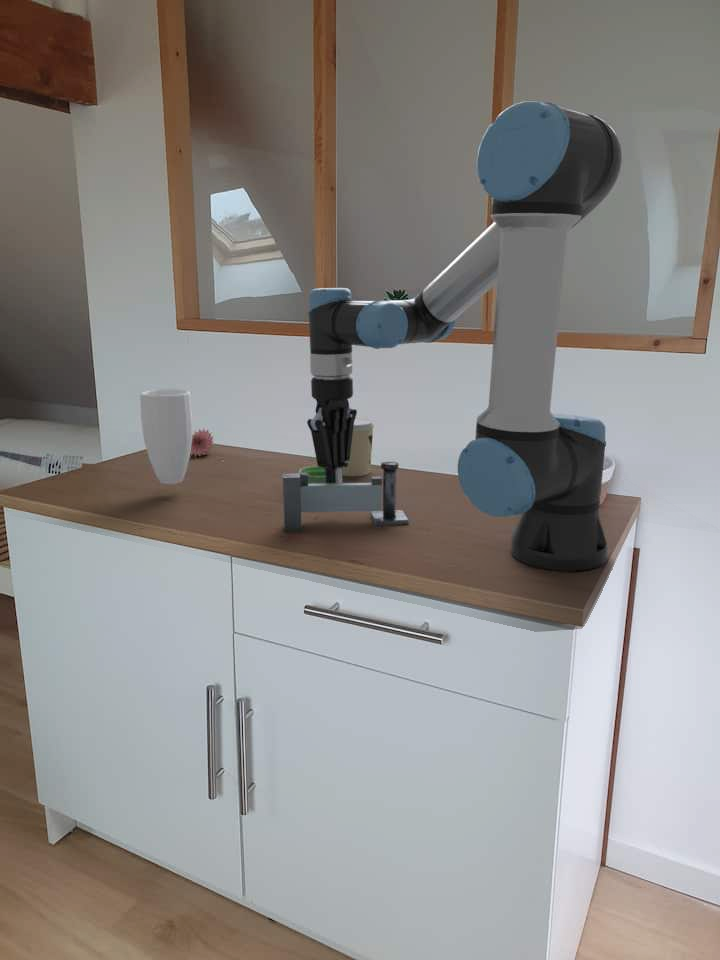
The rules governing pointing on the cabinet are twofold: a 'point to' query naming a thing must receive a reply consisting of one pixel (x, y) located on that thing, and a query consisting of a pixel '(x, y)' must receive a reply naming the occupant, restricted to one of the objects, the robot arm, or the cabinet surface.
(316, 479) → the ramekin
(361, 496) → the gate
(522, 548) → the robot arm
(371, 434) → the coffee cup
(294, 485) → the stile
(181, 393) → the cup
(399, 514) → the pivot post
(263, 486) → the cabinet surface
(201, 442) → the flower
